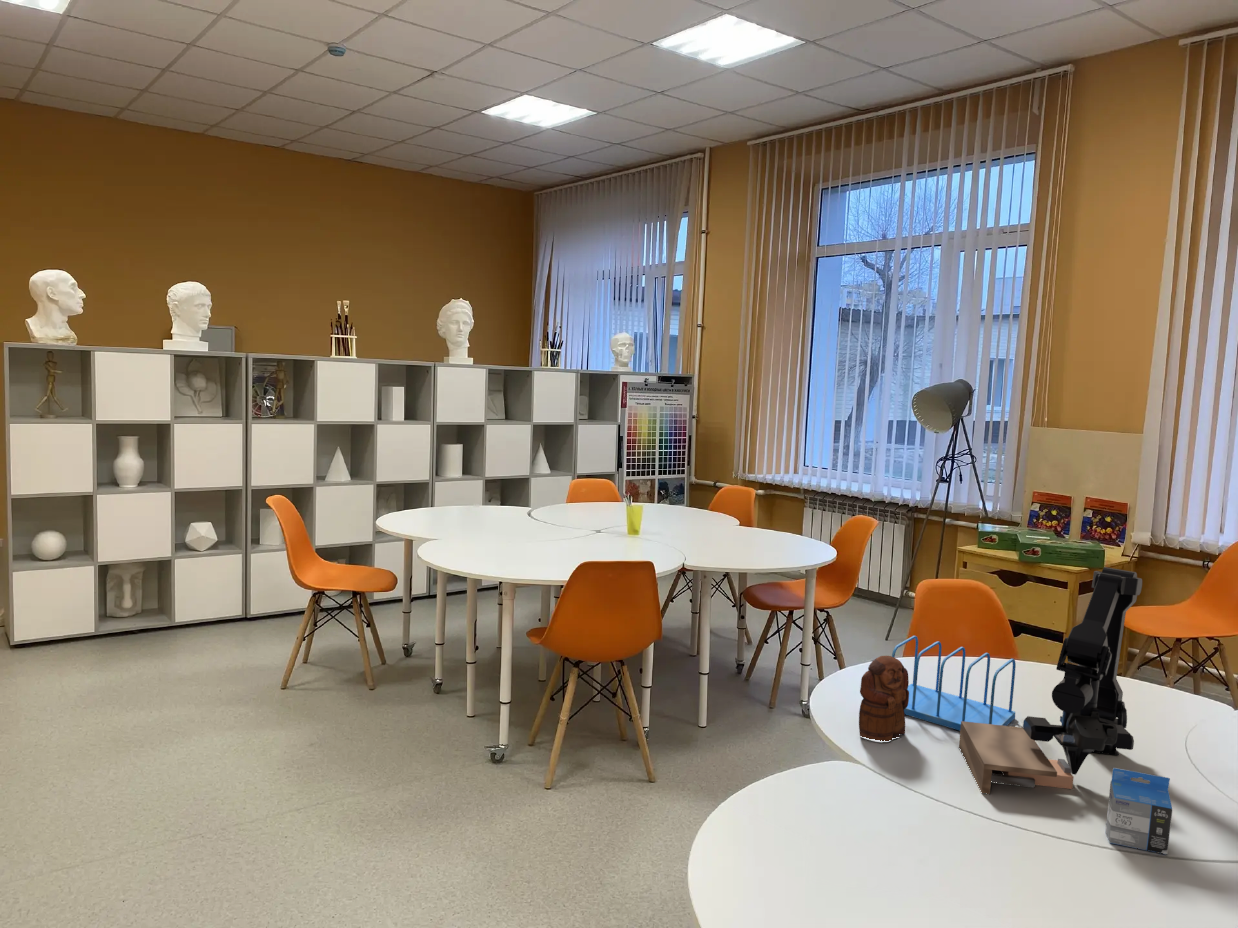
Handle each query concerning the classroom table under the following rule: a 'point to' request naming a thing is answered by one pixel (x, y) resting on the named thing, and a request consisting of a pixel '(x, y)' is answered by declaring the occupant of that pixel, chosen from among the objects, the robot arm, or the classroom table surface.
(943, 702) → the file sorter
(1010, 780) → the low shelf
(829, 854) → the classroom table surface
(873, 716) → the wooden figurine
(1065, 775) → the pink slab with nub
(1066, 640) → the robot arm
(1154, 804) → the label tape box
